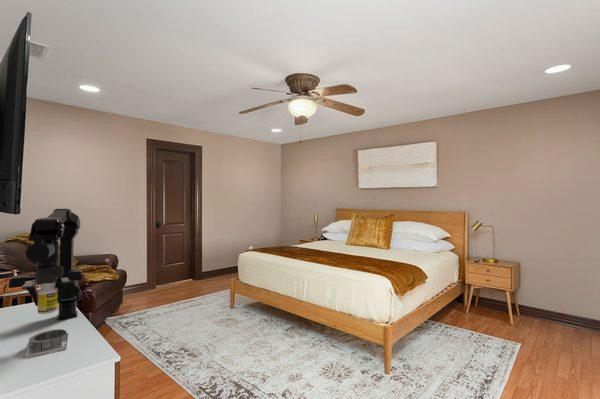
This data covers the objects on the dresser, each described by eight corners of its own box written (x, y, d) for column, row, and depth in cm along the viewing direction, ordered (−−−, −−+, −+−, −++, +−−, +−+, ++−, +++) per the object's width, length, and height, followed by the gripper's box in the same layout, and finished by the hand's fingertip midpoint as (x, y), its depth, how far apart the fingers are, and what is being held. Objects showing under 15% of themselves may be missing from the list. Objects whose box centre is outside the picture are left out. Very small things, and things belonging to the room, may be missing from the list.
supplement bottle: (47, 315, 102) (46, 284, 102) (33, 314, 103) (32, 284, 103) (62, 309, 107) (62, 280, 107) (49, 308, 109) (48, 279, 108)
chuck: (30, 342, 106) (30, 332, 106) (68, 335, 112) (68, 325, 111) (25, 358, 96) (25, 347, 96) (66, 349, 102) (66, 338, 101)
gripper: (4, 264, 93) (4, 317, 93) (81, 257, 104) (81, 305, 104) (12, 258, 103) (12, 306, 103) (82, 252, 113) (82, 296, 113)
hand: (48, 304), depth 105 cm, fingers closed on supplement bottle, 5 cm apart
